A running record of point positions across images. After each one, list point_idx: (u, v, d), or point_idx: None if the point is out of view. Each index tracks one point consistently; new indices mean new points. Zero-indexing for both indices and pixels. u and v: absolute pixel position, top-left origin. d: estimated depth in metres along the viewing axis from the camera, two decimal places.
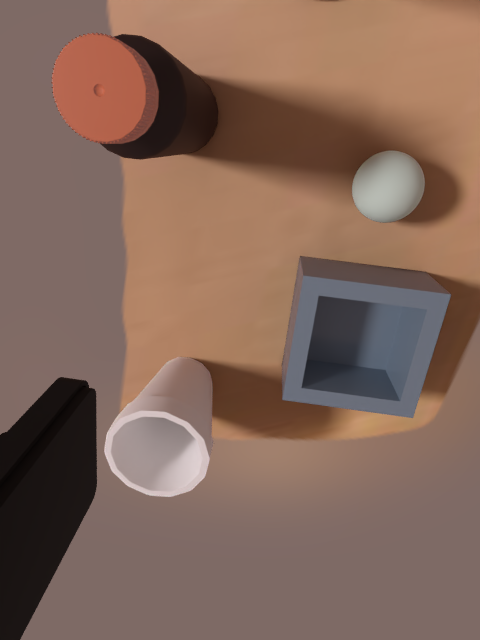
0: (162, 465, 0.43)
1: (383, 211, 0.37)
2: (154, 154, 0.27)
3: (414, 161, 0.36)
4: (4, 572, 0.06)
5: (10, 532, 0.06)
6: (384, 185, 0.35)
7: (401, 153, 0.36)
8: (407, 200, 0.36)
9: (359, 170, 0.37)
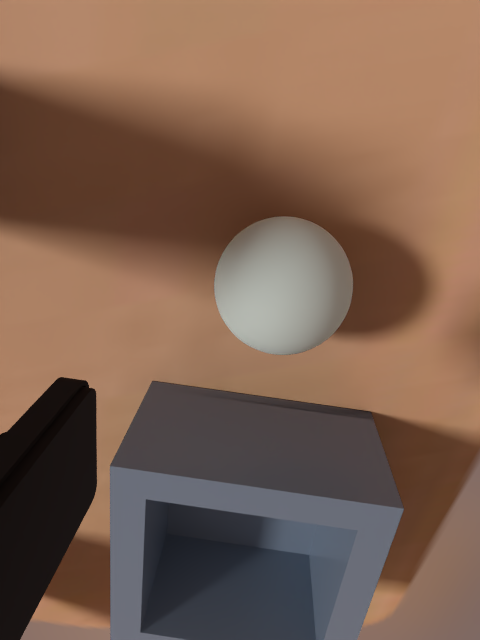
0: None
1: (265, 345, 0.18)
2: None
3: (327, 245, 0.17)
4: (4, 572, 0.06)
5: (10, 532, 0.06)
6: (259, 300, 0.17)
7: (301, 227, 0.17)
8: (312, 328, 0.17)
9: (222, 255, 0.18)
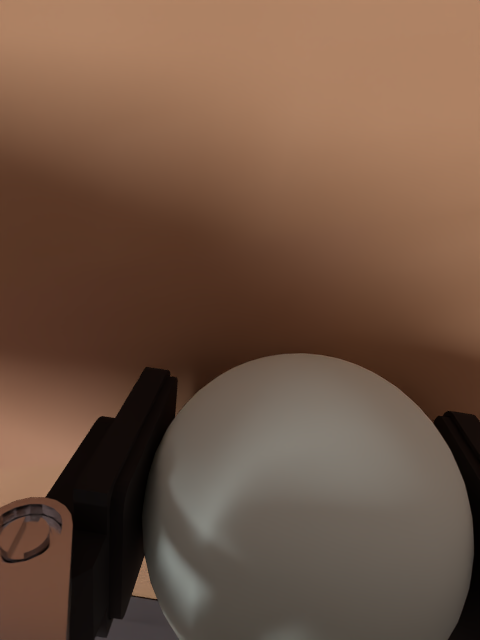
0: None
1: None
2: None
3: (423, 466, 0.06)
4: (128, 536, 0.07)
5: (133, 500, 0.07)
6: None
7: (352, 414, 0.07)
8: None
9: (159, 452, 0.08)
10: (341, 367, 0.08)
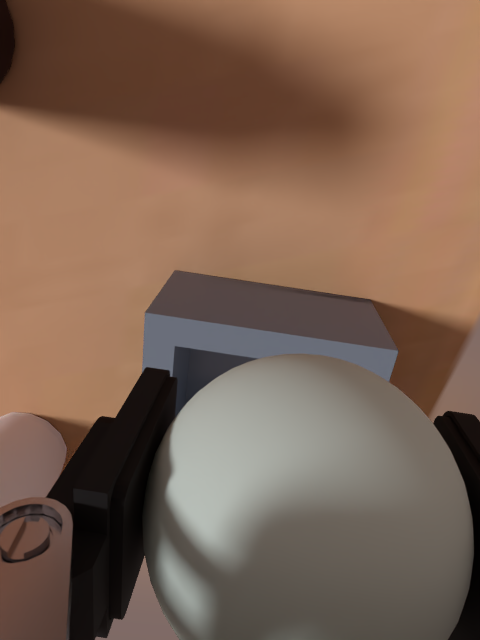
0: None
1: None
2: None
3: (423, 467, 0.06)
4: (128, 536, 0.07)
5: (133, 500, 0.07)
6: None
7: (352, 414, 0.07)
8: None
9: (159, 453, 0.08)
10: (341, 367, 0.08)
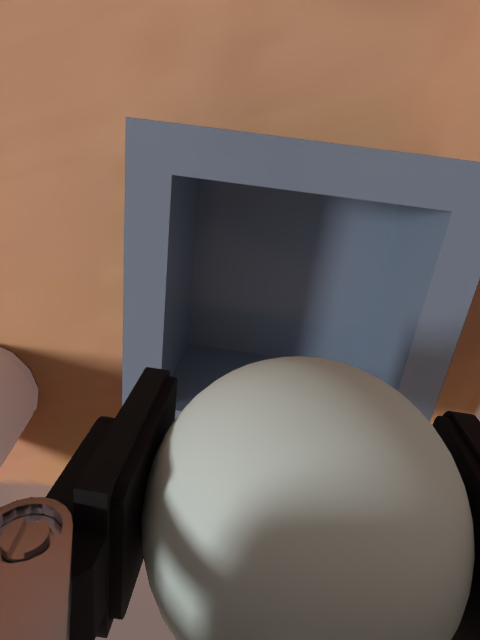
0: None
1: None
2: None
3: (423, 471, 0.06)
4: (128, 536, 0.07)
5: (133, 500, 0.07)
6: None
7: (352, 418, 0.07)
8: None
9: (158, 456, 0.08)
10: (341, 370, 0.08)
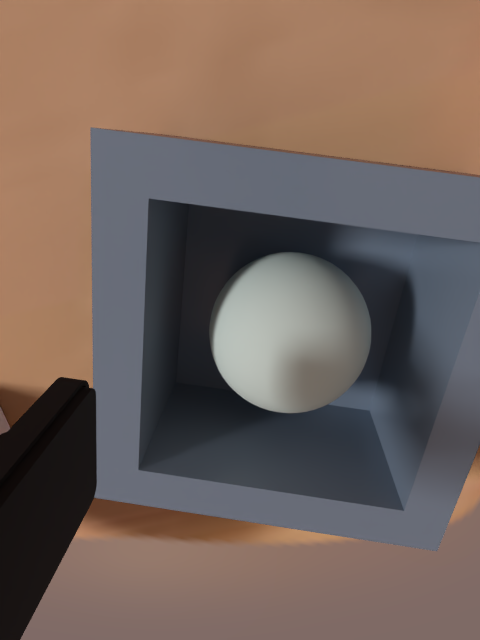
0: None
1: (268, 404, 0.15)
2: None
3: (342, 289, 0.14)
4: (4, 572, 0.06)
5: (10, 532, 0.06)
6: (261, 355, 0.14)
7: (311, 267, 0.15)
8: (324, 388, 0.14)
9: (218, 297, 0.16)
10: (308, 254, 0.16)
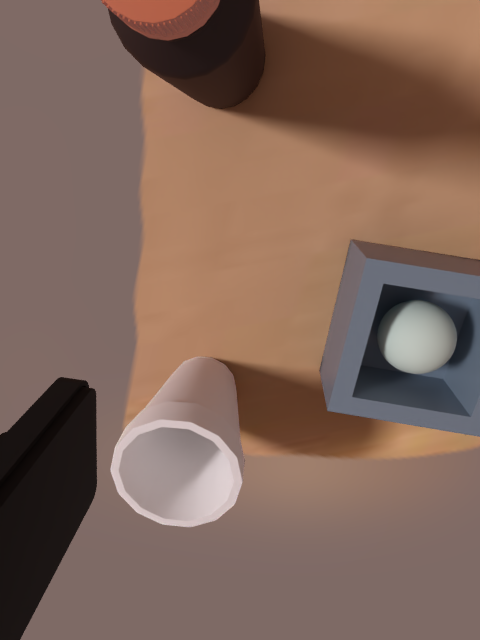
0: (178, 486, 0.35)
1: (411, 368, 0.34)
2: (205, 72, 0.20)
3: (447, 318, 0.34)
4: (4, 572, 0.06)
5: (10, 532, 0.06)
6: (414, 346, 0.33)
7: (433, 309, 0.34)
8: (438, 361, 0.33)
9: (386, 320, 0.35)
10: (428, 302, 0.35)
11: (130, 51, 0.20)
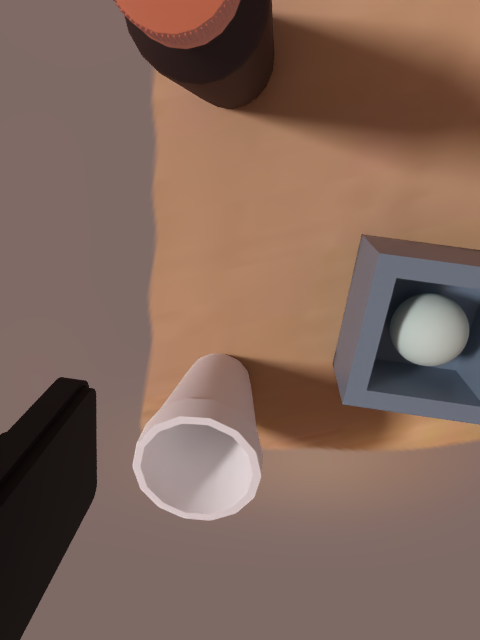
0: (198, 481, 0.36)
1: (424, 361, 0.35)
2: (221, 77, 0.20)
3: (459, 311, 0.34)
4: (4, 572, 0.06)
5: (10, 532, 0.06)
6: (427, 339, 0.33)
7: (445, 301, 0.34)
8: (451, 353, 0.34)
9: (399, 313, 0.35)
10: (440, 295, 0.35)
11: (148, 59, 0.20)
